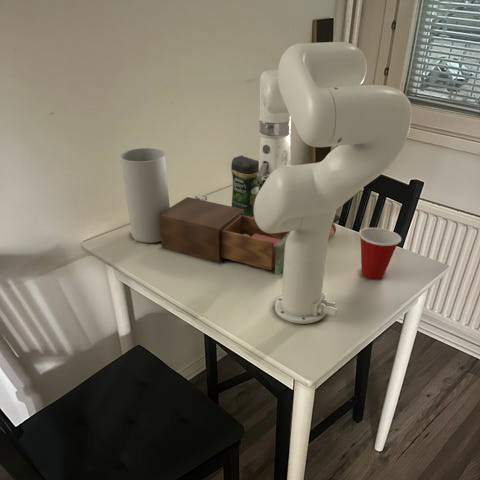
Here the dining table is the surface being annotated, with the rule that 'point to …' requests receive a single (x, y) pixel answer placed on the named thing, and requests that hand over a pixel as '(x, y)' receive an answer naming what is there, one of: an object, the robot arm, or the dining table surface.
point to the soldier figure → (201, 198)
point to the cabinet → (196, 227)
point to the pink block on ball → (268, 240)
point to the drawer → (252, 244)
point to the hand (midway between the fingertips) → (272, 196)
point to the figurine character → (333, 227)
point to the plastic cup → (377, 251)
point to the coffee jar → (245, 183)
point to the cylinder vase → (145, 191)
